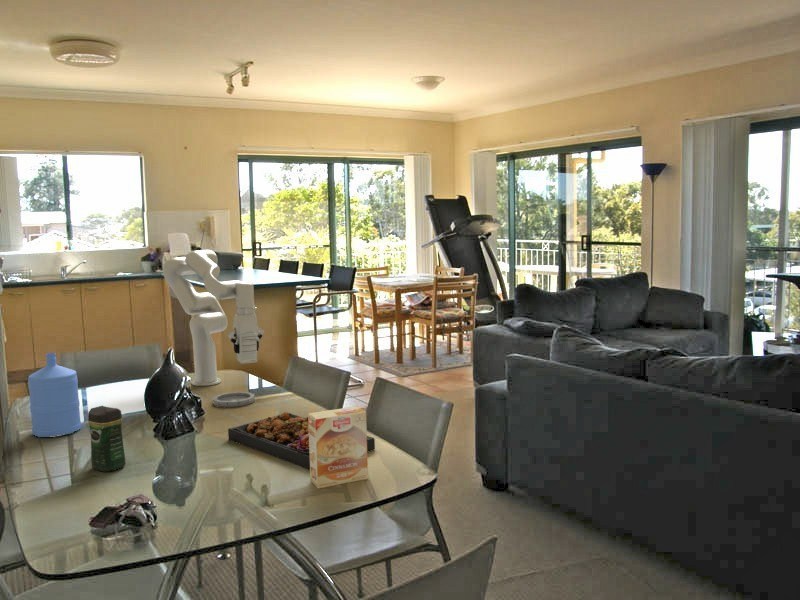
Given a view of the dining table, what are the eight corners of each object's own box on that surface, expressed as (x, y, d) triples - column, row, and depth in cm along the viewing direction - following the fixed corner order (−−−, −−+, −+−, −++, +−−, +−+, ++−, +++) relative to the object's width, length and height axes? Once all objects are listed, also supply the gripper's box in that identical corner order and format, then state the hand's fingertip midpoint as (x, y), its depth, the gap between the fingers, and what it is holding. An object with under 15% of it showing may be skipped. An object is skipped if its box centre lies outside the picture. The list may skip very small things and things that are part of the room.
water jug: (89, 430, 251) (82, 352, 247) (42, 441, 239) (35, 360, 236) (70, 422, 261) (64, 348, 258) (25, 432, 250) (18, 355, 247)
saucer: (206, 402, 286) (206, 397, 285) (242, 395, 296) (242, 389, 296) (225, 409, 274) (224, 404, 273) (261, 402, 284) (261, 396, 284)
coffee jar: (130, 466, 213) (126, 406, 211) (107, 474, 207) (102, 412, 204) (110, 460, 218) (106, 402, 216) (87, 468, 212) (82, 408, 210)
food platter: (374, 451, 222) (373, 419, 221) (313, 473, 205) (312, 438, 204) (288, 424, 254) (287, 396, 253) (228, 441, 236) (227, 411, 235)
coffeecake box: (318, 489, 191) (315, 419, 189) (309, 480, 198) (306, 412, 195) (369, 479, 198) (366, 411, 195) (359, 471, 204) (357, 405, 202)
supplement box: (236, 360, 304) (235, 331, 303) (253, 358, 307) (252, 330, 306) (240, 363, 298) (239, 334, 296) (257, 362, 301) (256, 332, 299)
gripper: (259, 308, 308) (260, 347, 310) (222, 312, 297) (223, 353, 299) (267, 310, 302) (269, 350, 305) (230, 314, 291) (232, 355, 293)
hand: (246, 351), depth 302 cm, fingers closed on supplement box, 8 cm apart
